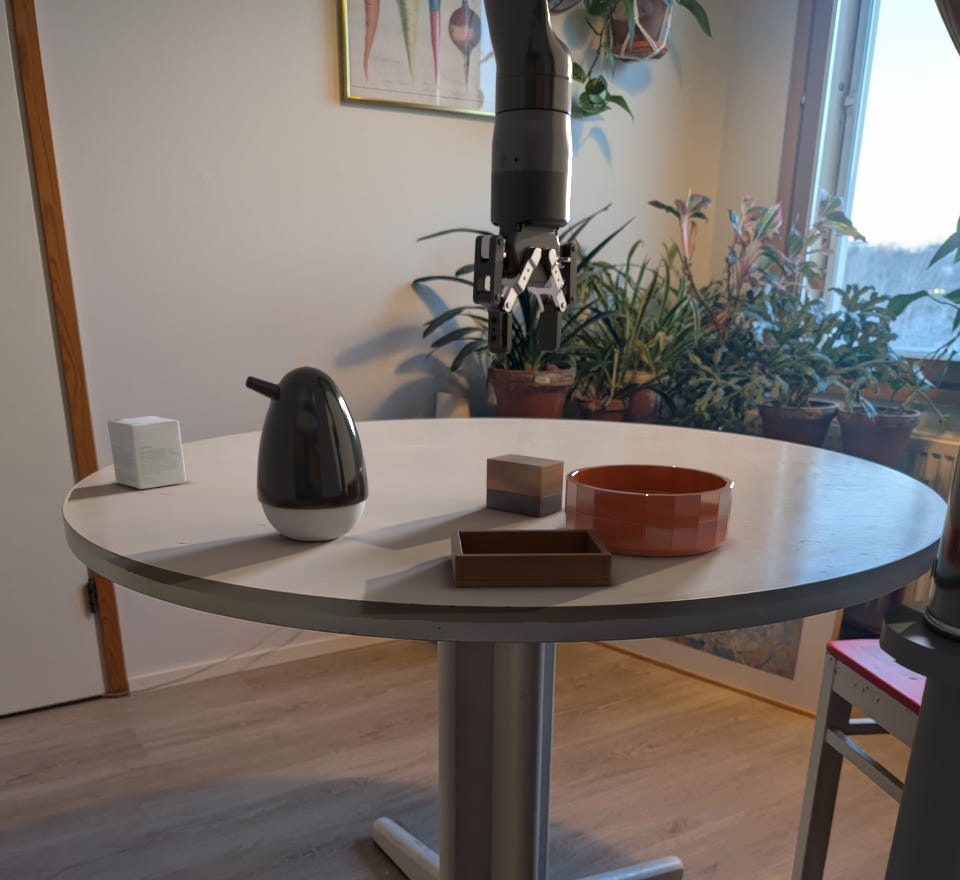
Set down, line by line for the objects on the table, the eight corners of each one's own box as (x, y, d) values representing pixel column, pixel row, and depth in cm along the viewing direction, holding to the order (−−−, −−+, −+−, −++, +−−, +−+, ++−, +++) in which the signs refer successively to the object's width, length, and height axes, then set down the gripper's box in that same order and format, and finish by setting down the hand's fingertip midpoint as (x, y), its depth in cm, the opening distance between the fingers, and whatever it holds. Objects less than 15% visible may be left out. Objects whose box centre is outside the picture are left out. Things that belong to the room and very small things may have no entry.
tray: (590, 557, 77) (592, 529, 77) (610, 585, 70) (612, 554, 69) (451, 558, 77) (451, 529, 76) (455, 587, 69) (455, 556, 68)
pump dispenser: (255, 524, 87) (242, 362, 81) (362, 519, 89) (356, 361, 84) (259, 552, 78) (245, 371, 72) (378, 545, 80) (372, 370, 75)
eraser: (562, 510, 94) (564, 461, 93) (539, 517, 91) (541, 466, 90) (509, 500, 99) (510, 453, 97) (485, 507, 95) (486, 458, 94)
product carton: (187, 483, 106) (180, 419, 103) (138, 490, 101) (130, 424, 99) (162, 476, 109) (154, 415, 107) (114, 482, 105) (105, 419, 103)
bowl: (752, 533, 86) (759, 477, 84) (681, 568, 75) (687, 503, 73) (614, 510, 95) (618, 458, 93) (533, 538, 83) (534, 479, 81)
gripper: (519, 159, 76) (514, 357, 82) (604, 177, 87) (594, 351, 93) (452, 165, 80) (451, 353, 86) (540, 181, 91) (535, 348, 97)
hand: (525, 352), depth 89 cm, fingers open, 8 cm apart
